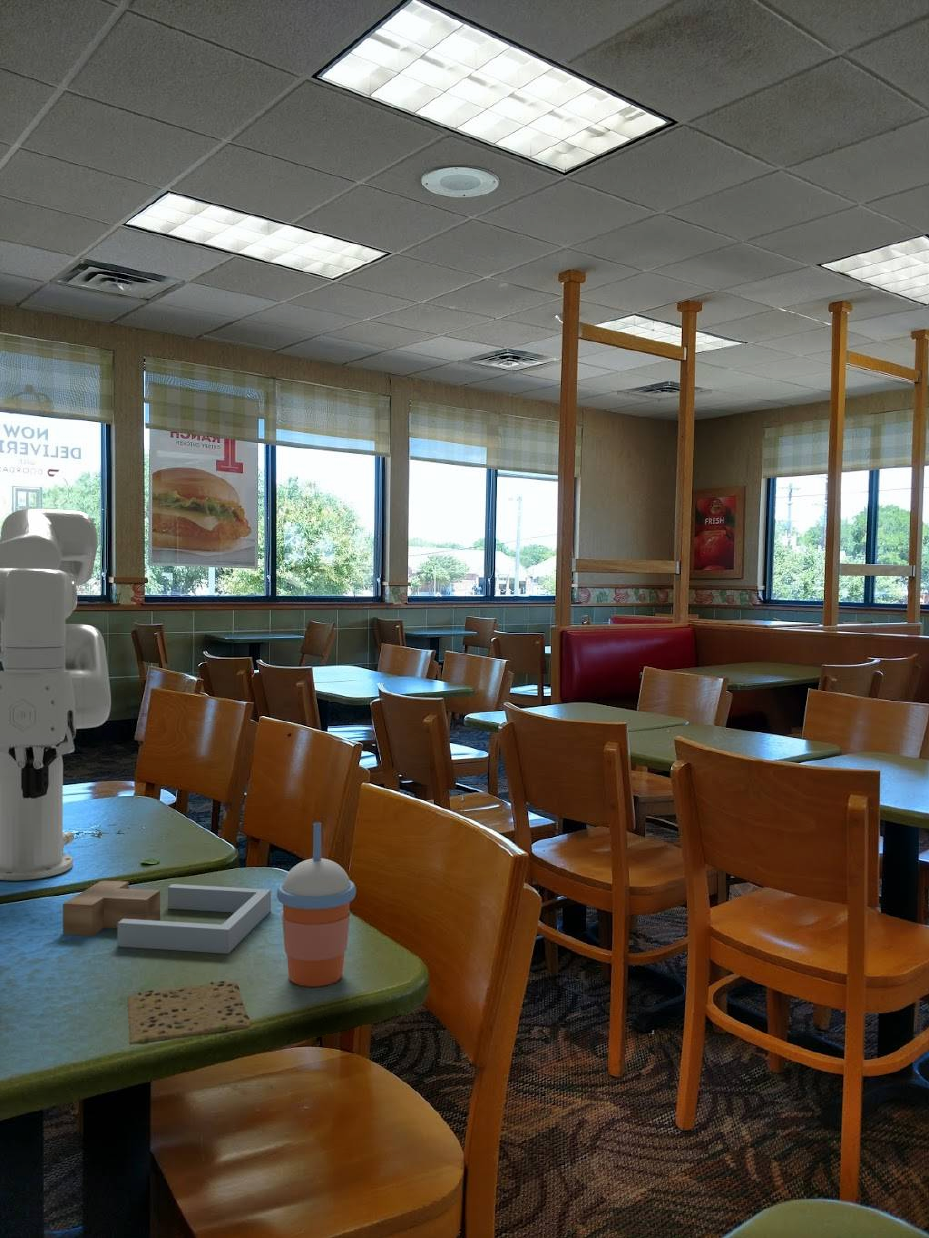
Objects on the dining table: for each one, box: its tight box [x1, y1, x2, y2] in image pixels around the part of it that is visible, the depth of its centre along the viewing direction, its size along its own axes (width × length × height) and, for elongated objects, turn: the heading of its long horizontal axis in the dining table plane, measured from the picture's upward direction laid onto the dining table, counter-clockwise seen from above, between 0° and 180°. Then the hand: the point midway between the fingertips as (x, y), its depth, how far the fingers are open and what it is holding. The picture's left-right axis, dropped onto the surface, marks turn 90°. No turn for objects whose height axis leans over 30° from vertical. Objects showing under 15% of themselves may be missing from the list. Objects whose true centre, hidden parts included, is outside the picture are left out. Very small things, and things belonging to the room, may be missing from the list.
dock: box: [116, 883, 272, 955], centre depth 127 cm, size 16×14×3 cm
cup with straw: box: [276, 822, 357, 988], centre depth 111 cm, size 9×9×18 cm
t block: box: [62, 880, 161, 936], centre depth 128 cm, size 10×10×4 cm
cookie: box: [127, 980, 251, 1045], centre depth 102 cm, size 12×12×1 cm
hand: (34, 796), depth 129 cm, fingers closed
